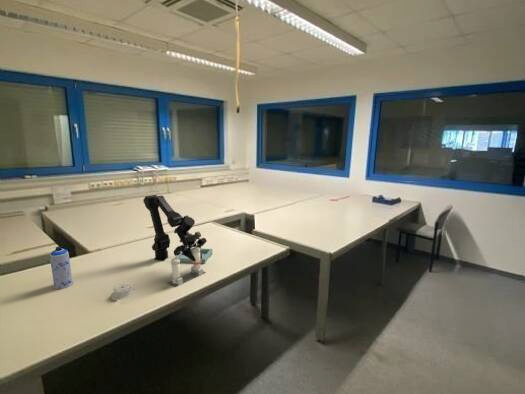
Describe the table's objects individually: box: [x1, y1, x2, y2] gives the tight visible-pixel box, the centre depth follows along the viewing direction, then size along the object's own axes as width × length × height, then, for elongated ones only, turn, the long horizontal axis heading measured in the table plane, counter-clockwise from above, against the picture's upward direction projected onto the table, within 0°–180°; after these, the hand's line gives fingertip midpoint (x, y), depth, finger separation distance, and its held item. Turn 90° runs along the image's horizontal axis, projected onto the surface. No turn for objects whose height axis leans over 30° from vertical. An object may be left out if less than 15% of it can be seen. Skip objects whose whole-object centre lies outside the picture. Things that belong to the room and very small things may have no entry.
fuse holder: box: [166, 265, 207, 288], centre depth 147 cm, size 7×20×4 cm, turn 142°
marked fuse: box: [192, 247, 202, 272], centre depth 150 cm, size 4×4×12 cm
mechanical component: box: [110, 283, 136, 302], centre depth 131 cm, size 10×4×10 cm
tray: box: [174, 247, 213, 264], centre depth 172 cm, size 18×16×4 cm
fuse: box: [170, 257, 182, 284], centre depth 141 cm, size 4×4×12 cm
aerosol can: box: [49, 245, 74, 290], centre depth 138 cm, size 8×8×20 cm
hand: (198, 259), depth 150 cm, fingers closed on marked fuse, 4 cm apart
